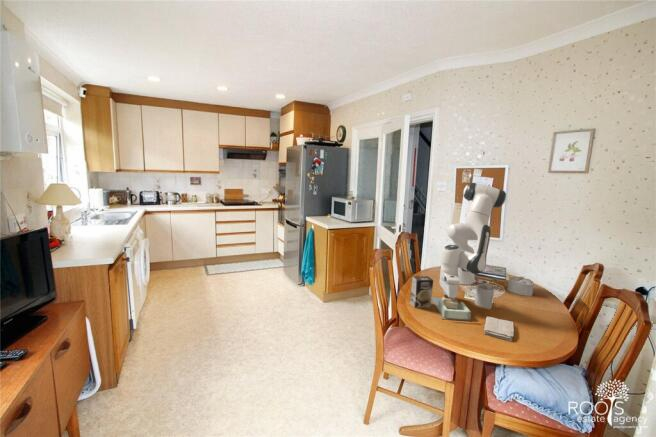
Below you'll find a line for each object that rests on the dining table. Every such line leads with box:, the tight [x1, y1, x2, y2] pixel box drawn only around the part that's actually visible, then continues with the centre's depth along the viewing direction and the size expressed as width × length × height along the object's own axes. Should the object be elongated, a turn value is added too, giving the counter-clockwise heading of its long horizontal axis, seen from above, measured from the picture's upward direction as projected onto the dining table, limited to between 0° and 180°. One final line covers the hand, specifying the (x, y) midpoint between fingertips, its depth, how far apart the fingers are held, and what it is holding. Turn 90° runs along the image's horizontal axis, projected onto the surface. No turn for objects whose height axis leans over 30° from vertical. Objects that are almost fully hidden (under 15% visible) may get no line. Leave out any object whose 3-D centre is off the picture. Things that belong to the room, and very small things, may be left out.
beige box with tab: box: [441, 294, 458, 310], centre depth 164 cm, size 7×6×6 cm
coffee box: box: [409, 275, 434, 309], centre depth 165 cm, size 9×6×16 cm
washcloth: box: [483, 316, 515, 342], centre depth 146 cm, size 12×18×3 cm, turn 151°
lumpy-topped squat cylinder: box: [507, 276, 535, 297], centre depth 192 cm, size 10×13×9 cm
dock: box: [431, 296, 472, 323], centre depth 164 cm, size 24×14×5 cm, turn 175°
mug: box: [474, 283, 495, 310], centre depth 171 cm, size 12×8×11 cm
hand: (446, 299), depth 170 cm, fingers closed
